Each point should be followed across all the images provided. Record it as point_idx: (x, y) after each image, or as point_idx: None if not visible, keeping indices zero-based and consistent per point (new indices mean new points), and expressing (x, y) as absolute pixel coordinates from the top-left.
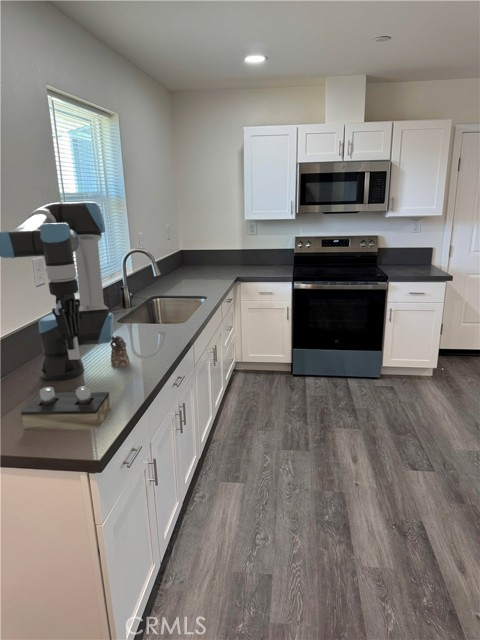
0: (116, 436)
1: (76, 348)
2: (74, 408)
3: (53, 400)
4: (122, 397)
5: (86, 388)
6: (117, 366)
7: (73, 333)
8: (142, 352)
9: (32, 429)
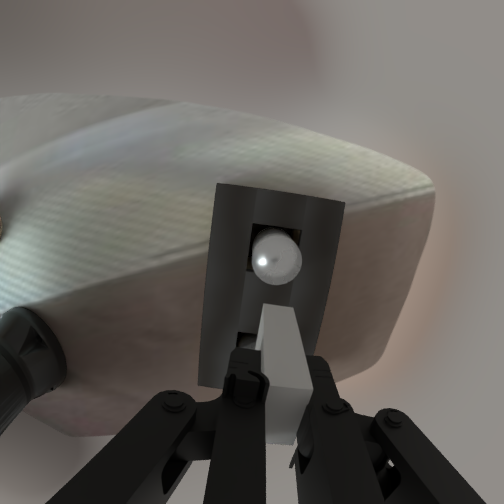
0: (369, 150)
1: (300, 340)
2: (317, 270)
3: None
4: (156, 166)
5: (274, 248)
6: (1, 227)
7: (321, 426)
8: None
9: None
